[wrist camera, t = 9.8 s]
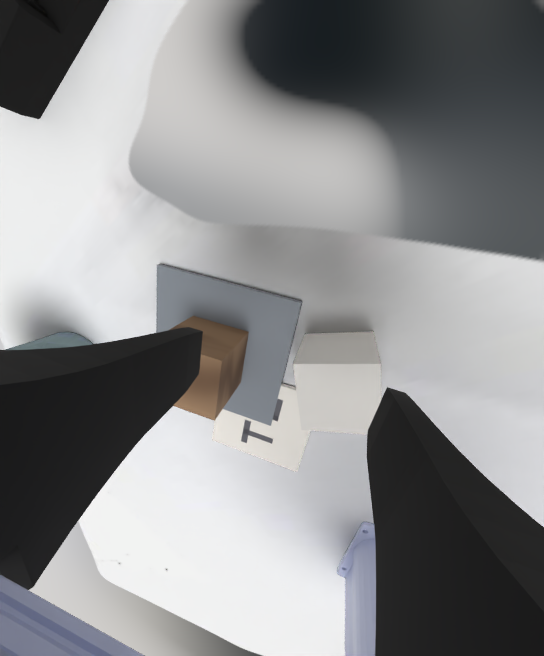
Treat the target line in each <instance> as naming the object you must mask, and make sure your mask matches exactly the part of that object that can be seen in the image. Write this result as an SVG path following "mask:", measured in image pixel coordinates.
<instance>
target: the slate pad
mask: <svg viewBox="0 0 544 656" xmlns="http://www.w3.org/2000/svg"><path fill="white" fill-rule="evenodd" d="M301 304H302V301H299V300H295V299H291V298H288V297H284V296H280V295H276V294H273V293H269V292H265V291H261V290H257V289H254V288H250V287H246V286H242V285H239V284H235V283H231V282H227V281H223V280H220V279H216V278H212V277H208V276H205V275H201V274H197V273H193V272H189V271H186V270H182V269H178V268H174V267H171V266H167V265H163V264H158V265H157V330H156V333H158V332H163V331H168V330H169V329H171V328H173V327H175V326H176V325H178V324H180V323H181V322H183V321H185V320H187V319H188V318H190V317H192V316H196V317H199V318H203V319H206V320H210V321H213V322H217V323H220V324H223V325H227V326H230V327H234V328H237V329H241V330H244V331H248V332H249V334H248V341H247V347H246V353H245V359H244V366H243V372H242V378H241V383H240V384H239V386H238V387H237V389H236V390H235V392H234V393H233V395H232V396H231V398H230V399H229V400H228V402H227V403H226V405H225V406H224V408H223V409H224V410H227V411H230V412H233V413H236V414H238V415H241V416H244V417H247V418H250V419H252V420H255V421H258V422H261V423H264V424H267V425H269V426H271V424H272V420H273V416H274V412H275V408H276V403H277V399H278V395H279V391H280V387H281V384H282V381H283V377H284V373H285V369H286V365H287V361H288V357H289V353H290V349H291V345H292V341H293V337H294V333H295V329H296V325H297V321H298V317H299V312H300V308H301Z"/></svg>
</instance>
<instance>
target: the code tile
mask: <svg viewBox="0 0 544 656" xmlns="http://www.w3.org/2000/svg"><path fill="white" fill-rule="evenodd" d="M310 432H311V431H307V430H301V423H300V415H299V407H298V400H297V392H296V387H293V386H289V385H286V384H283V383H282V384H281V387H280V391H279V395H278V399H277V403H276V408H275V412H274V416H273V420H272V424H271V426H269V425H267V424H264V423H261V422H258V421H255V420H252V419H250V418H247V417H244V416H241V415H238V414H236V413H233V412H230V411H227V410H224V409H222V411H221V412H220V414H219V415H218V417H217V418H216V419H215V421H214V428H213V436H212V440H213V441H216V442H219V443H221V444H224V445H226V446H229V447H232V448H234V449H237V450H240V451H242V452H245V453H247V454H250V455H253V456H255V457H258V458H261V459H263V460H266V461H268V462H271V463H274V464H276V465H279V466H282V467H284V468H287V469H289V470H292V471H295V472H297V471H298V468H299V465H300V462H301V459H302V456H303V453H304V450H305V447H306V444H307V441H308V438H309V435H310Z"/></svg>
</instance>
